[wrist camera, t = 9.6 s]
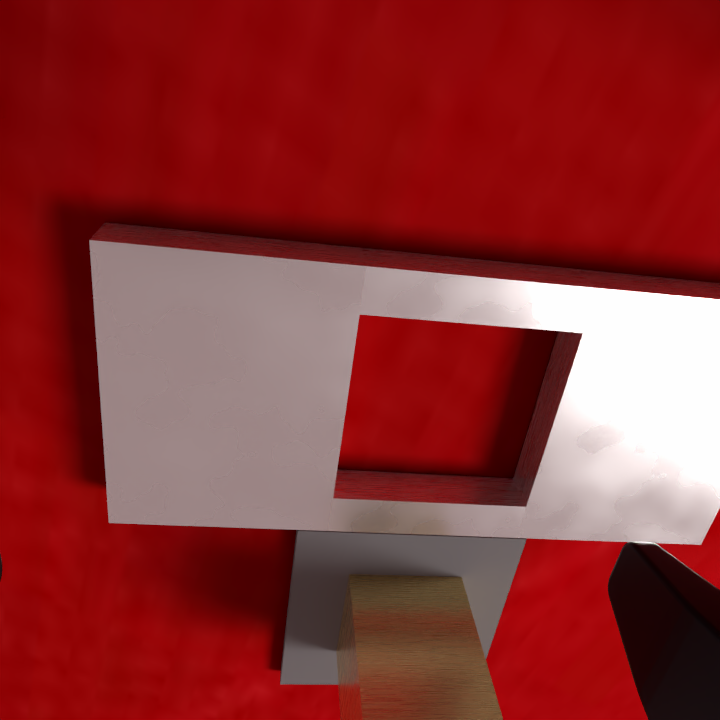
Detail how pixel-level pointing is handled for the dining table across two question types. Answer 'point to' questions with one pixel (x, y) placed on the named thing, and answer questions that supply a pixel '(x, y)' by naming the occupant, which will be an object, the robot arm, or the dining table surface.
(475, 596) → the pad
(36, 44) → the dining table surface
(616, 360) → the rail
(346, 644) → the brass block
